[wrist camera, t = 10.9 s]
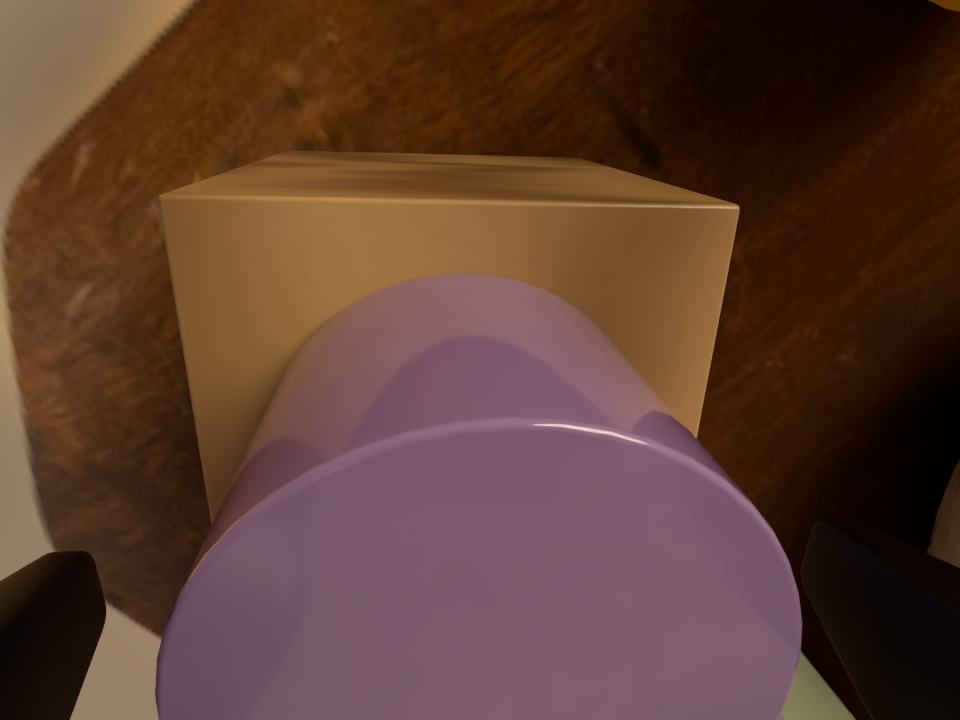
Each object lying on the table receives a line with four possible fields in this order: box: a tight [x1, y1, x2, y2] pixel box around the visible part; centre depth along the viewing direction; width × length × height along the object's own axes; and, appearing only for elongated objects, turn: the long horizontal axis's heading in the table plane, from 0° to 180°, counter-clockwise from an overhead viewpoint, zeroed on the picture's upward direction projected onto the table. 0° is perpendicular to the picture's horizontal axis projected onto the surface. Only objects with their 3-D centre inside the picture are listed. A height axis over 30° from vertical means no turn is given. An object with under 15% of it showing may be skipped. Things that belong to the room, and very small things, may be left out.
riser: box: [158, 150, 740, 524], centre depth 15 cm, size 8×16×9 cm, turn 178°
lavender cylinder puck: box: [155, 273, 802, 720], centre depth 8 cm, size 6×6×4 cm
